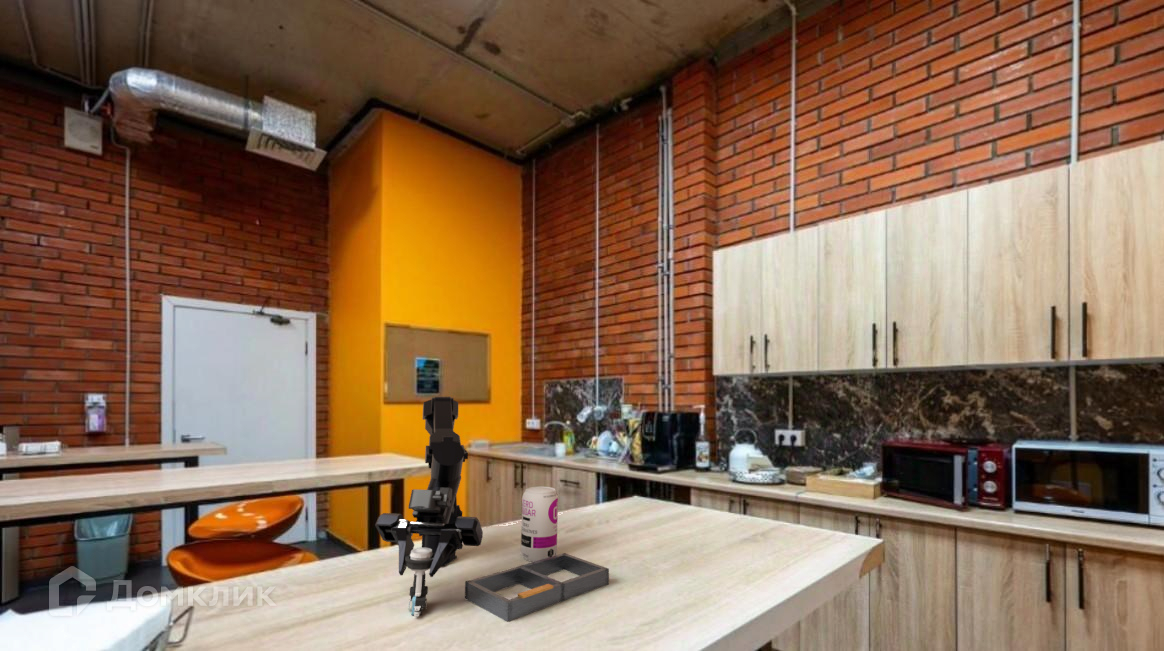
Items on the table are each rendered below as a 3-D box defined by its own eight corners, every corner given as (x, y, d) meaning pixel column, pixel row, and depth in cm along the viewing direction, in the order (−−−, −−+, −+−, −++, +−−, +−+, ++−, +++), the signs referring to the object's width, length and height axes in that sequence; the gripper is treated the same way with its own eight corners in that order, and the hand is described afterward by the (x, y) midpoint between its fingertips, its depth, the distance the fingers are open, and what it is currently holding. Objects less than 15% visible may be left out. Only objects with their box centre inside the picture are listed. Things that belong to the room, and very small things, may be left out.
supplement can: (561, 553, 128) (563, 487, 129) (548, 564, 120) (550, 494, 121) (529, 549, 130) (531, 485, 132) (514, 560, 123) (516, 491, 124)
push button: (432, 619, 93) (436, 557, 94) (399, 620, 91) (403, 558, 92) (433, 602, 99) (437, 545, 100) (402, 604, 98) (407, 546, 99)
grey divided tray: (464, 598, 101) (465, 579, 102) (564, 567, 119) (564, 551, 119) (508, 622, 92) (508, 600, 92) (609, 584, 109) (609, 566, 110)
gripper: (382, 468, 102) (348, 548, 90) (480, 472, 100) (459, 553, 88) (398, 502, 109) (368, 580, 97) (490, 506, 107) (471, 586, 96)
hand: (415, 574), depth 94 cm, fingers closed on push button, 5 cm apart
